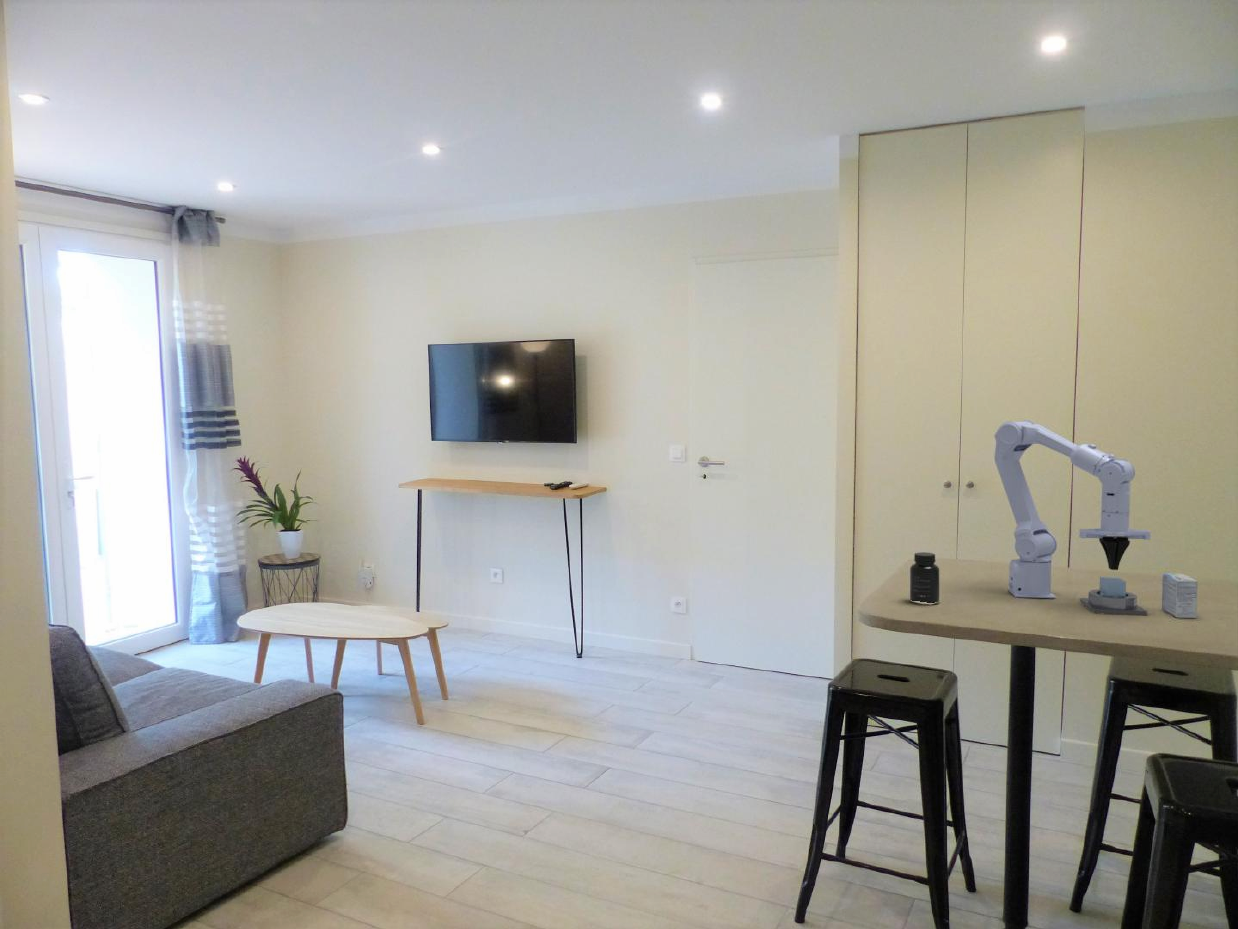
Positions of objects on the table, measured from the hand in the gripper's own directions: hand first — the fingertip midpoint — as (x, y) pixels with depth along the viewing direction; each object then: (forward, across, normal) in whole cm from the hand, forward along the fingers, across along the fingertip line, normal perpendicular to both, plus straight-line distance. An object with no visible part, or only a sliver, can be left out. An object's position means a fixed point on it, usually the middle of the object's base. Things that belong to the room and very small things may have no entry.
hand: (1113, 569), depth 204 cm
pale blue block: (+8, 0, 0) cm, 8 cm away
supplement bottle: (+10, -42, 0) cm, 43 cm away
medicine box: (+10, +13, -3) cm, 16 cm away
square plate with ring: (+9, 0, 0) cm, 9 cm away
